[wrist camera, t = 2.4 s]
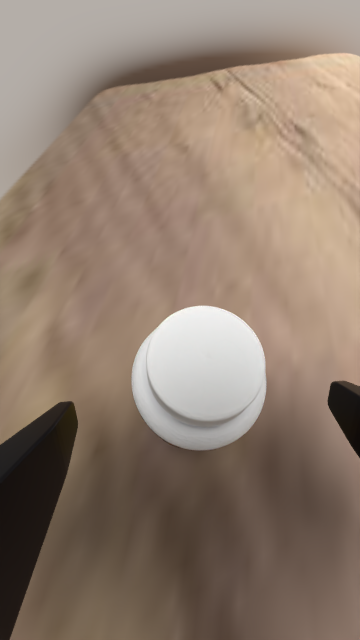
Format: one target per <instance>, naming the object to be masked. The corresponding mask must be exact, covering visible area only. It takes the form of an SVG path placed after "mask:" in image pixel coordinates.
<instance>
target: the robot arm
mask: <svg viewBox="0 0 360 640" xmlns="http://www.w3.org/2000/svg"><path fill="white" fill-rule="evenodd" d="M328 406H329V409H330V410H331V412H332V414H333V416H334V417H335V419H336V421H337V422H338V424H339V426H340V428H341V429H342V431H343V433H344V434H345V436H346V438H347V440H348V441H349V443H350V444H351V446H352V448H353V449H354V451H355V452H356V454H357V455H358V456H359V458H360V386H357V385H355V384H352V383H349V382H347V381H334V382H332V383H331V386H330V391H329V396H328ZM77 428H78V420H77V416H76V411H75V406H74V403H73V402H72V401H68V402H60V403H58V404H57V405H55V406H54V407H52V408H51V409H50V410H48V411H47V412H45V413H44V414H43V415H41V416H40V417H39V418H37V419H36V420H34V421H33V422H32V423H30V424H29V425H27V426H26V427H25V428H23V429H22V430H20V431H19V432H18V433H16V434H15V435H13V436H12V437H11V438H9V439H8V440H6V441H5V442H4V443H2V444H1V445H0V640H10V637H11V634H12V631H13V628H14V625H15V623H16V620H17V617H18V614H19V611H20V608H21V605H22V602H23V599H24V597H25V594H26V591H27V588H28V585H29V582H30V579H31V576H32V573H33V571H34V568H35V565H36V562H37V559H38V556H39V553H40V550H41V547H42V545H43V542H44V539H45V536H46V533H47V530H48V527H49V524H50V521H51V519H52V516H53V513H54V510H55V507H56V504H57V501H58V498H59V495H60V493H61V490H62V487H63V484H64V481H65V478H66V475H67V471H68V467H69V463H70V459H71V454H72V450H73V446H74V441H75V437H76V433H77Z"/></svg>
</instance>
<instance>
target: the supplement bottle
mask: <svg viewBox="0 0 360 640" xmlns="http://www.w3.org/2000/svg"><path fill="white" fill-rule="evenodd" d="M132 391H133V397H134V400H135V403H136V406H137V408H138V410H139V412H140V414H141V416H142V418H143V420H144V421H145V422H146V424H147V425H148V426H149V427H150V428H151V429H152V430H153V431H154V432H155V433H156V434H157V435H158V436H159V437H160V438H162V439H163V440H164V441H166V442H167V443H169V444H171V445H173V446H176V447H180V448H184V449H189V450H200V451H202V450H212V449H216V448H220V447H223V446H226V445H228V444H230V443H232V442H234V441H236V440H237V439H239V438H240V437H241V436H243V435H244V434H245V433H246V432H247V431H248V430H249V429H250V428H251V427H252V425H253V424H254V423H255V421H256V420H257V418H258V416H259V414H260V412H261V410H262V407H263V404H264V400H265V395H266V374H265V357H264V352H263V349H262V346H261V343H260V341H259V340H258V338H257V336H256V334H255V333H254V331H253V330H252V329H251V328H250V327H249V326H248V325H247V324H246V323H245V322H244V321H243V320H242V319H240V318H239V317H238V316H236V315H234V314H232V313H230V312H229V311H226V310H223V309H220V308H217V307H211V306H195V307H189V308H185V309H182V310H180V311H177V312H175V313H174V314H172V315H170V316H169V317H168V318H166V319H165V320H164V321H163V322H162V323H161V324H160V325H159V326H158V327H157V328H156V329H155V330H154V331H153V332H152V333H151V334H150V335H149V336H148V337H147V338H146V339H145V341H144V342H143V343H142V345H141V347H140V349H139V350H138V353H137V355H136V357H135V360H134V364H133V368H132Z"/></svg>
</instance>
